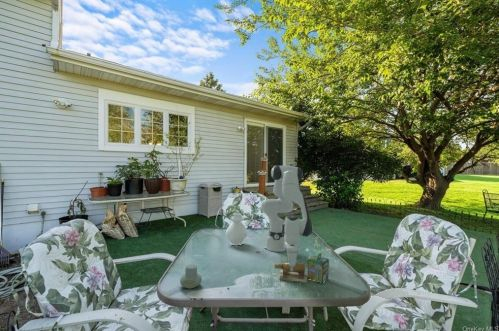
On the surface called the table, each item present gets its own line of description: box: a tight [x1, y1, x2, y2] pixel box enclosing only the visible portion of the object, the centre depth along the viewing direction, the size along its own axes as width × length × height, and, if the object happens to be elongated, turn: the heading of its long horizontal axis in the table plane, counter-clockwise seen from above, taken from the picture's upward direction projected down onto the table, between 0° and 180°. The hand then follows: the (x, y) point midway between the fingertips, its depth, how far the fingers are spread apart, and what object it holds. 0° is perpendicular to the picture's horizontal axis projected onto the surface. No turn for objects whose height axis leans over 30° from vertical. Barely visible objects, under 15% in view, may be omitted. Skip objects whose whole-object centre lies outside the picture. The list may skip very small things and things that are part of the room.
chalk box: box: [307, 252, 330, 284], centre depth 141 cm, size 9×9×15 cm
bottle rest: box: [279, 269, 308, 283], centre depth 143 cm, size 11×15×5 cm
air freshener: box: [179, 264, 203, 290], centre depth 129 cm, size 11×8×10 cm
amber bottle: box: [274, 261, 306, 273], centre depth 143 cm, size 5×17×5 cm
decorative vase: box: [225, 212, 249, 246], centre depth 205 cm, size 18×18×25 cm
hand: (291, 268), depth 143 cm, fingers closed on amber bottle, 5 cm apart
